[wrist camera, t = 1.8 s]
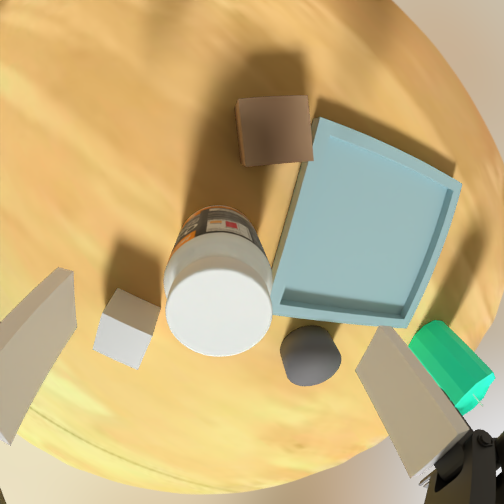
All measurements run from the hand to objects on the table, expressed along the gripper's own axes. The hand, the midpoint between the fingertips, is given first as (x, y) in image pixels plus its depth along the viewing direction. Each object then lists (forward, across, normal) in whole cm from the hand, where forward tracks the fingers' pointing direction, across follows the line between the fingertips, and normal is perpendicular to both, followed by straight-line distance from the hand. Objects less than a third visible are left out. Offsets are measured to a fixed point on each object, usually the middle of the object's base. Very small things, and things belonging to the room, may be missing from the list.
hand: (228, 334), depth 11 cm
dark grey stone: (+11, +9, -8) cm, 17 cm away
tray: (+11, +11, +3) cm, 16 cm away
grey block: (+11, -7, -8) cm, 15 cm away
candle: (+12, +25, -7) cm, 29 cm away
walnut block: (+11, +1, +8) cm, 14 cm away
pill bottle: (+11, -1, 0) cm, 11 cm away
